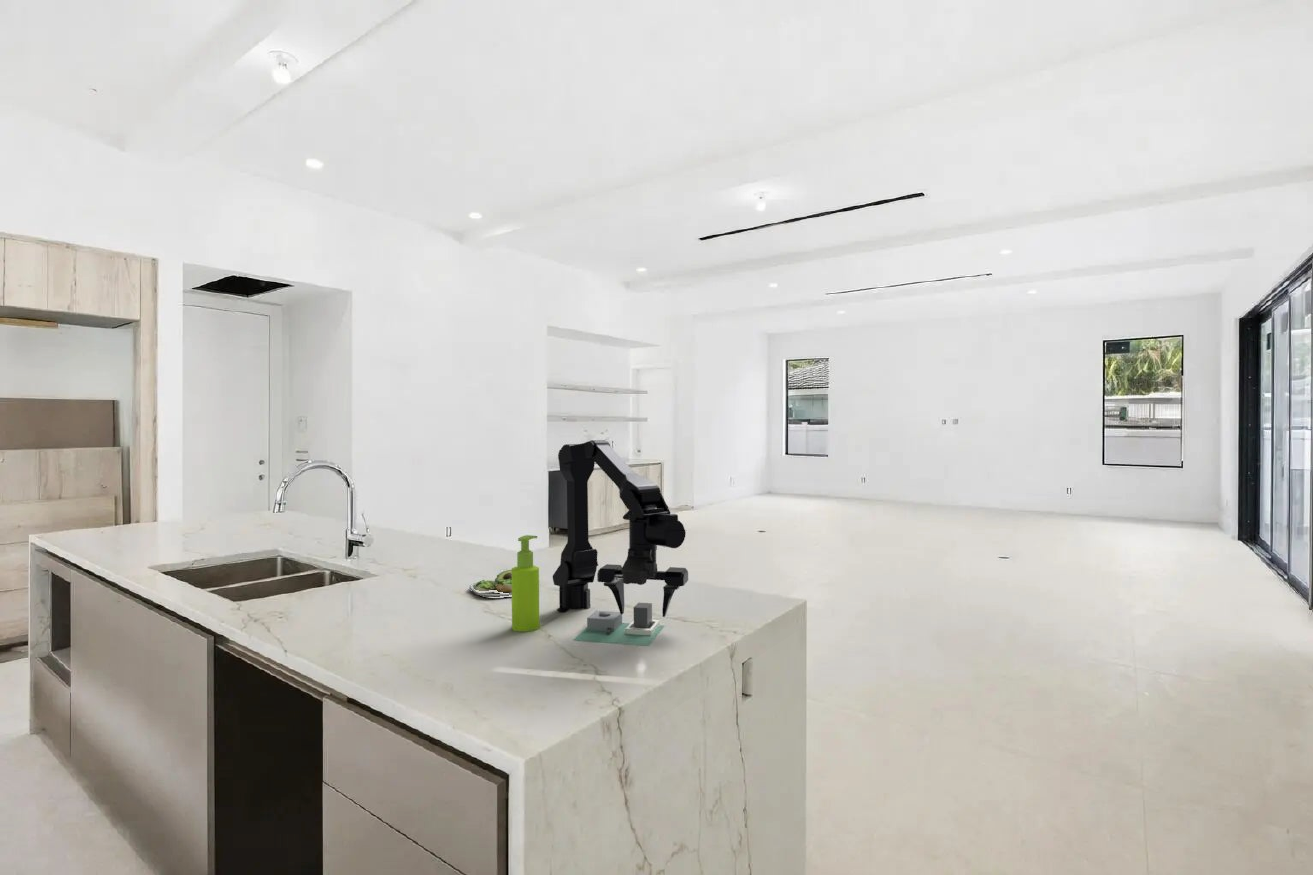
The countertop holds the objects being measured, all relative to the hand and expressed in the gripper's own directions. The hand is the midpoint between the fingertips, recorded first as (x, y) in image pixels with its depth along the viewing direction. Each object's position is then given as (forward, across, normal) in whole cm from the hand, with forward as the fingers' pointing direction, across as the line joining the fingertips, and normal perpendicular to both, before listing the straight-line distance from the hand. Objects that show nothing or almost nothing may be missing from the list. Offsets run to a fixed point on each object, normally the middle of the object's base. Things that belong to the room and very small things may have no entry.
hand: (643, 615), depth 148 cm
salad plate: (+4, -46, +29) cm, 54 cm away
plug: (+3, 0, 0) cm, 3 cm away
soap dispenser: (+4, -26, -1) cm, 26 cm away
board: (+4, -4, -3) cm, 7 cm away
